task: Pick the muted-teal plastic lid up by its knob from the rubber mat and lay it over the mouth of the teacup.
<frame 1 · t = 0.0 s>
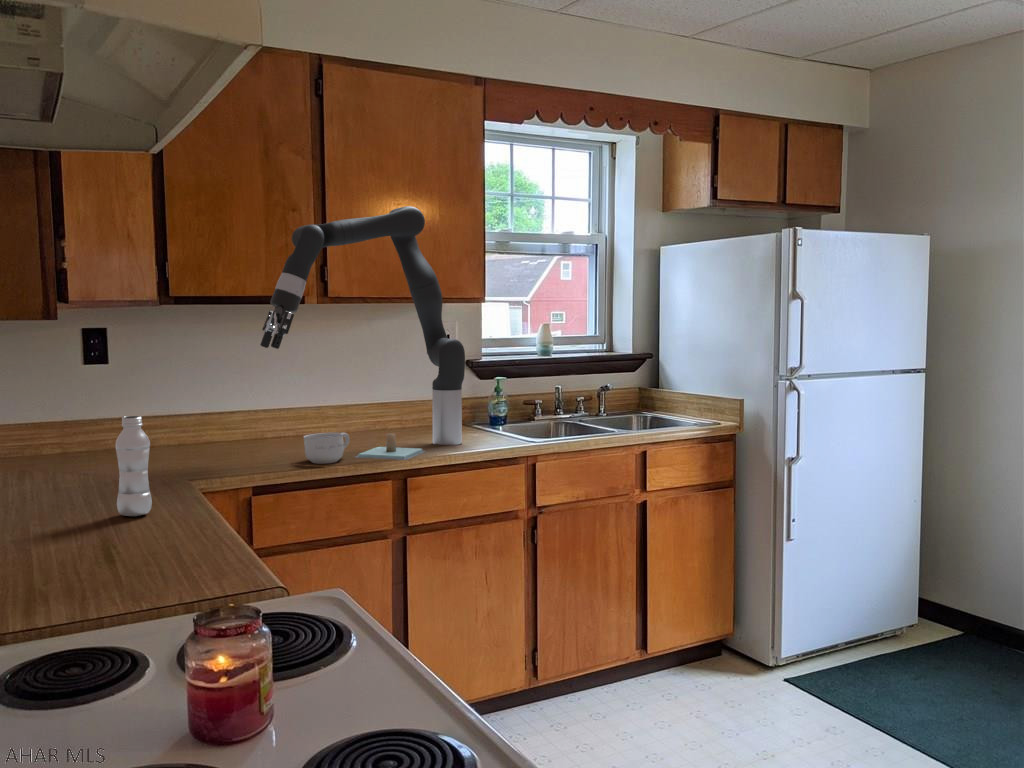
hand: (269, 347, 233), 31 cm above the table, tool tilted 20°, fingers open, 8 cm apart
teacup: (329, 462, 234), on the table
plastic bottle: (134, 516, 170), on the table
lid: (391, 454, 245), resting on mat
mat: (391, 455, 245), on the table
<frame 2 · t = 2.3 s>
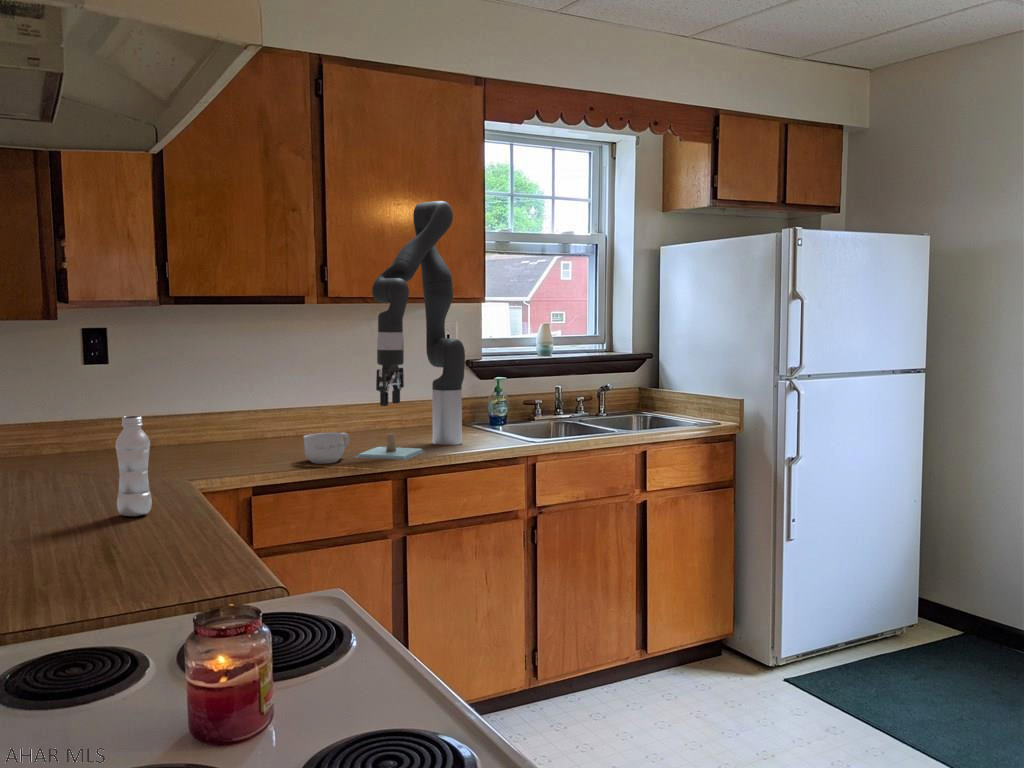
hand: (390, 404, 244), 15 cm above the table, tool pointing down, fingers open, 8 cm apart
nothing on the table moved.
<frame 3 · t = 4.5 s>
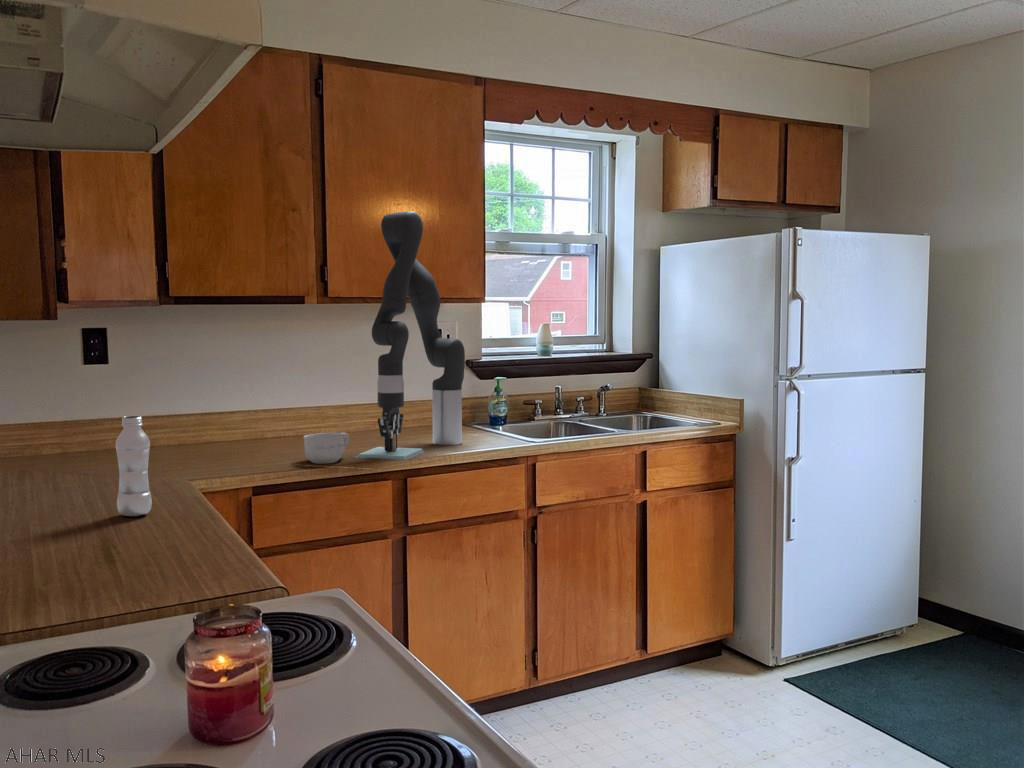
hand: (391, 449, 245), 2 cm above the table, tool pointing down, fingers closed on lid, 2 cm apart
lid: (391, 454, 245), resting on mat, touching gripper
everything else where it was.
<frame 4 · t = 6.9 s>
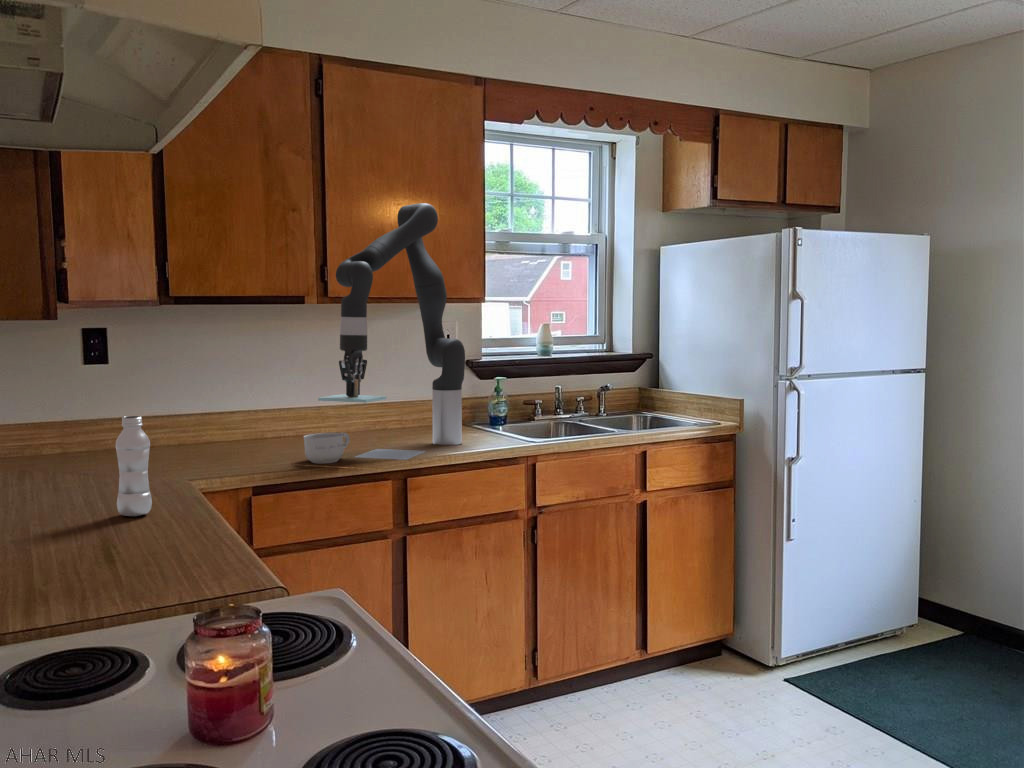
hand: (353, 395, 236), 18 cm above the table, tool pointing down, fingers closed on lid, 2 cm apart
lid: (353, 399, 236), point 17 cm above the table, touching gripper
everything else where it was.
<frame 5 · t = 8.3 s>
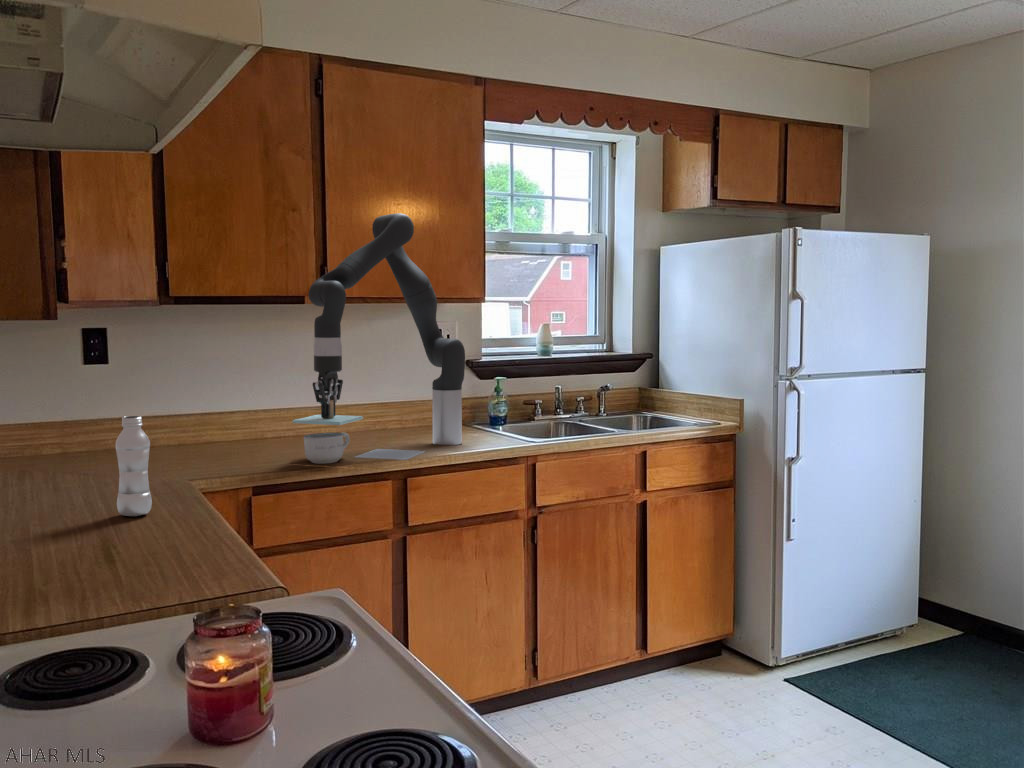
hand: (328, 416, 233), 13 cm above the table, tool pointing down, fingers closed on lid, 2 cm apart
lid: (328, 421, 233), point 11 cm above the table, touching gripper
everything else where it was.
when the fingers open (11 cm above the table, at t = 9.2 s): lid drops 2 cm, resting on teacup.
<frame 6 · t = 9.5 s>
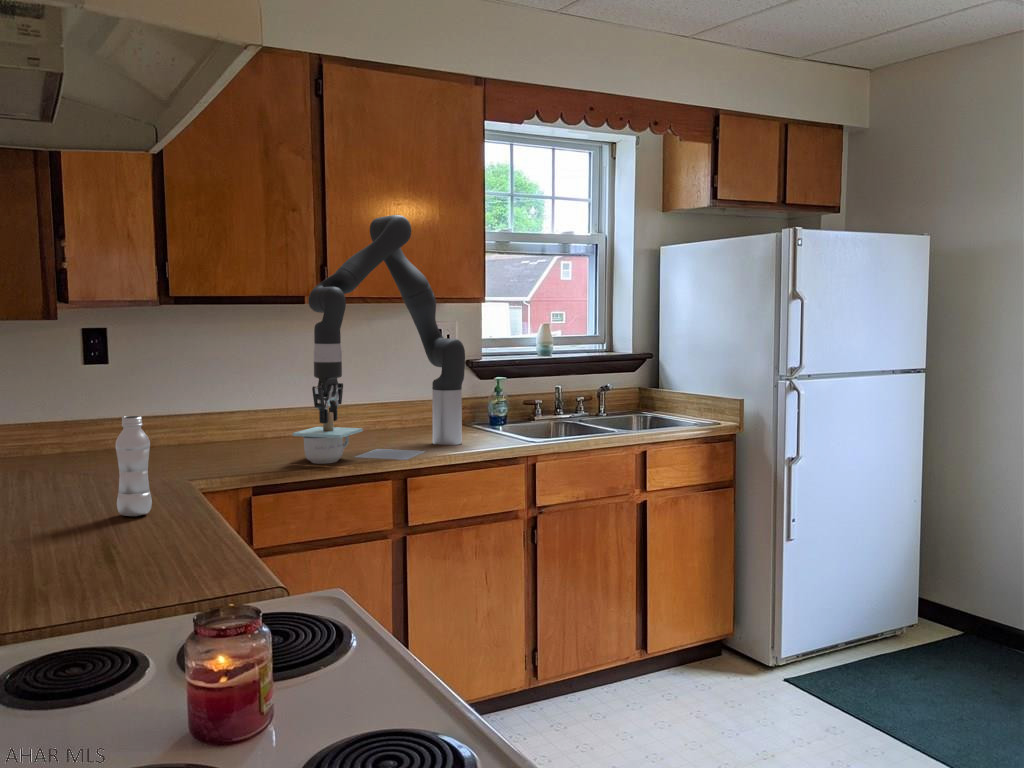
hand: (328, 421, 233), 11 cm above the table, tool pointing down, fingers open, 5 cm apart
teacup: (328, 462, 234), on the table, touching lid
lid: (328, 433, 233), point 8 cm above the table, touching teacup
everything else where it was.
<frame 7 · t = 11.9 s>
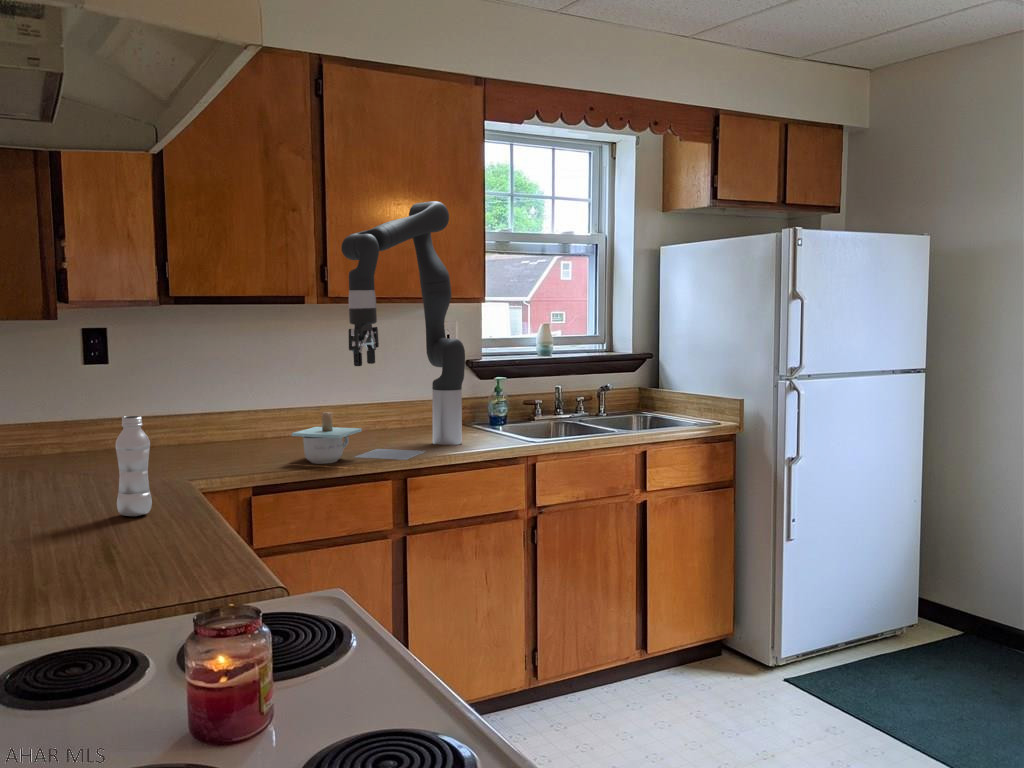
hand: (364, 364, 237), 27 cm above the table, tool pointing down, fingers open, 8 cm apart
nothing on the table moved.
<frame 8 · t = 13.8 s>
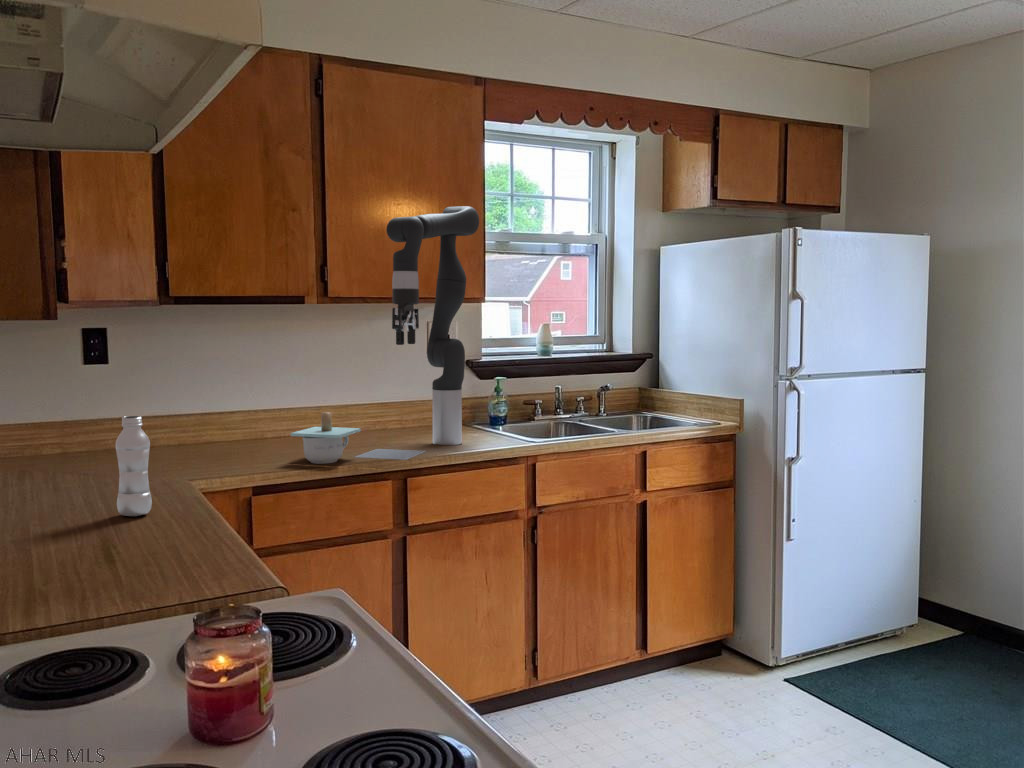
hand: (405, 344, 243), 32 cm above the table, tool pointing down, fingers open, 8 cm apart
nothing on the table moved.
at the end: lid 0.4 cm off-centre on the teacup, point 8.2 cm above the teacup's base; lid touching teacup; the gripper is holding nothing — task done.
